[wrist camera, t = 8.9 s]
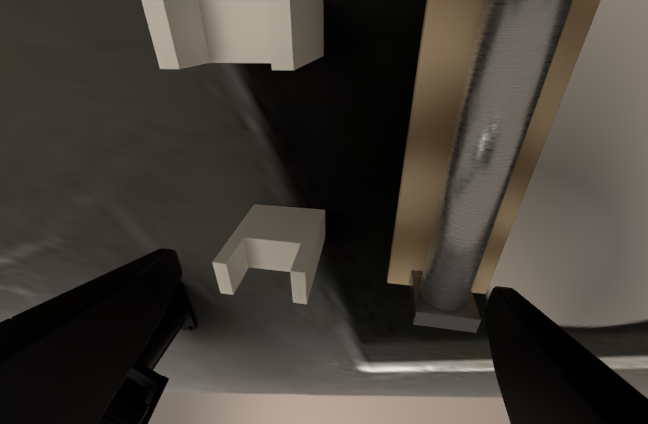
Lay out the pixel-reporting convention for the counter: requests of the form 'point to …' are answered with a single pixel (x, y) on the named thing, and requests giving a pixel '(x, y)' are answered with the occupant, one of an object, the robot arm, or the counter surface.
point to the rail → (484, 152)
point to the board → (440, 120)
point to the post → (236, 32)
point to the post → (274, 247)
